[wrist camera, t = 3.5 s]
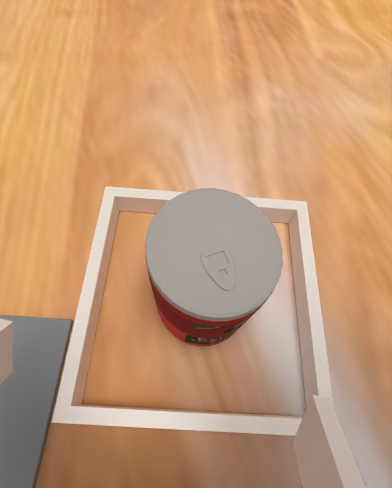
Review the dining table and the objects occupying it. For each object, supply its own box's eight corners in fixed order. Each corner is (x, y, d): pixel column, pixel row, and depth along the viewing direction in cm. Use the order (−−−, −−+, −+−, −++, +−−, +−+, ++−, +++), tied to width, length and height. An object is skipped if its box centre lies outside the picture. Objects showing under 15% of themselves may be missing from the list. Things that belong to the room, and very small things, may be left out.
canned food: (191, 367, 24) (202, 351, 14) (138, 288, 26) (115, 227, 16) (263, 311, 26) (315, 264, 16) (207, 244, 29) (223, 167, 19)
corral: (297, 215, 31) (306, 201, 28) (321, 433, 22) (338, 438, 20) (110, 201, 30) (105, 186, 28) (64, 419, 22) (51, 422, 19)
